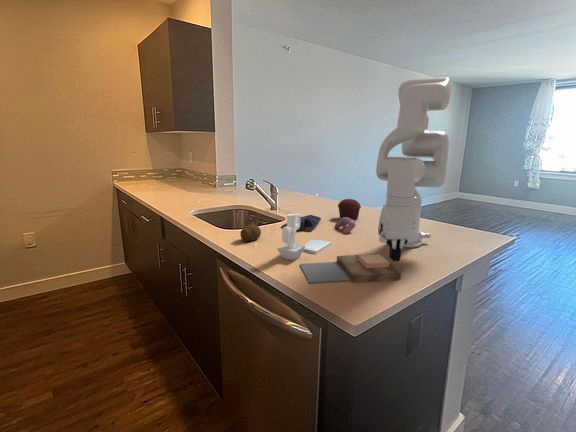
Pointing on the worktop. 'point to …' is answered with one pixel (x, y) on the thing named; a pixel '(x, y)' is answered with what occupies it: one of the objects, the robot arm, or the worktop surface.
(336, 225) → the purple crystal rock
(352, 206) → the muffin
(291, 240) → the figurine
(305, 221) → the dark slate chunk
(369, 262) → the tile
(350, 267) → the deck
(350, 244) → the worktop surface
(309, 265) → the mat
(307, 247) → the hard drive
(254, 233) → the potato
